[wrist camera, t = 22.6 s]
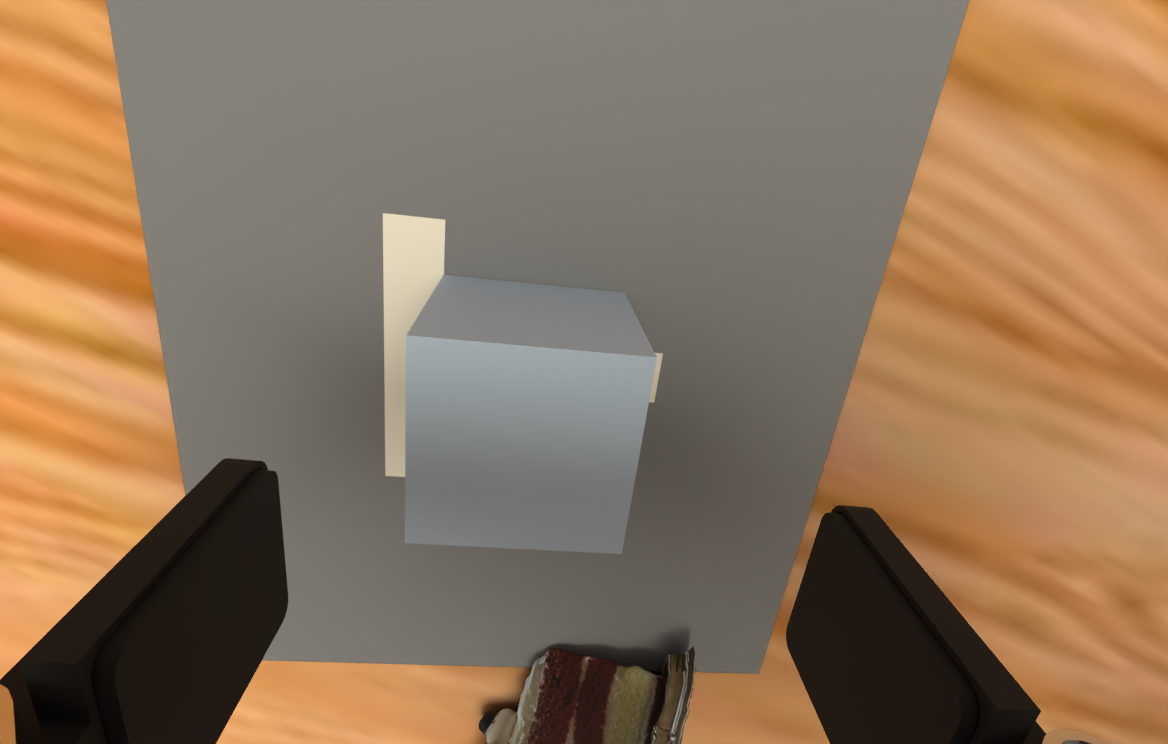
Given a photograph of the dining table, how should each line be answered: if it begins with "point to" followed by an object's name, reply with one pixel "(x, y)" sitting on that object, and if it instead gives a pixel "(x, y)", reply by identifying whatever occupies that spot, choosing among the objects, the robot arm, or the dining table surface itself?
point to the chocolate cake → (596, 702)
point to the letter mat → (524, 279)
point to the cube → (524, 416)
